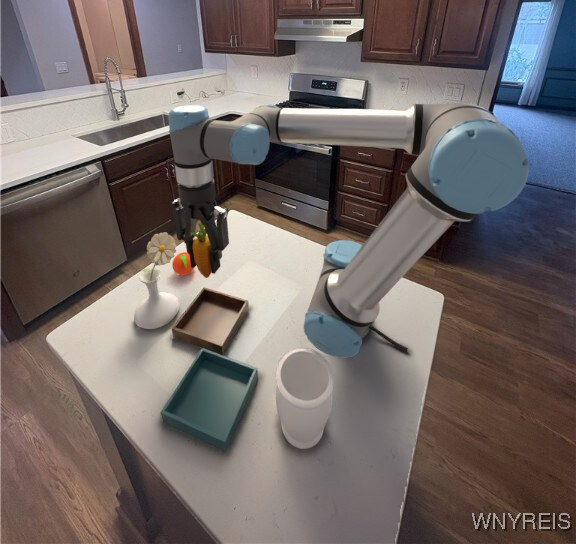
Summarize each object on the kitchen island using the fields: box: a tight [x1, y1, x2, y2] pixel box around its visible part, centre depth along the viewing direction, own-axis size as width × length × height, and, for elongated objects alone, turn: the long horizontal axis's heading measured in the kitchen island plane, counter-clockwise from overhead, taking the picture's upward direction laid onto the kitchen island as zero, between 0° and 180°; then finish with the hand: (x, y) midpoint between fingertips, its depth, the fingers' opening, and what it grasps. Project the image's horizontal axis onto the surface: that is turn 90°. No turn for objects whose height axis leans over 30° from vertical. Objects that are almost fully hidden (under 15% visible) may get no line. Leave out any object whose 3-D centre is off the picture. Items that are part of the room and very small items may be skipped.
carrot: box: [191, 222, 212, 279], centre depth 73 cm, size 5×5×15 cm
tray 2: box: [160, 348, 259, 453], centre depth 65 cm, size 14×14×3 cm
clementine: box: [172, 251, 195, 276], centre depth 98 cm, size 8×7×7 cm
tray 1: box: [171, 287, 250, 356], centre depth 82 cm, size 14×14×3 cm
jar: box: [275, 347, 335, 450], centre depth 59 cm, size 11×10×15 cm
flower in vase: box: [133, 231, 180, 330], centre depth 81 cm, size 13×11×25 cm
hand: (205, 266), depth 75 cm, fingers closed on carrot, 5 cm apart
